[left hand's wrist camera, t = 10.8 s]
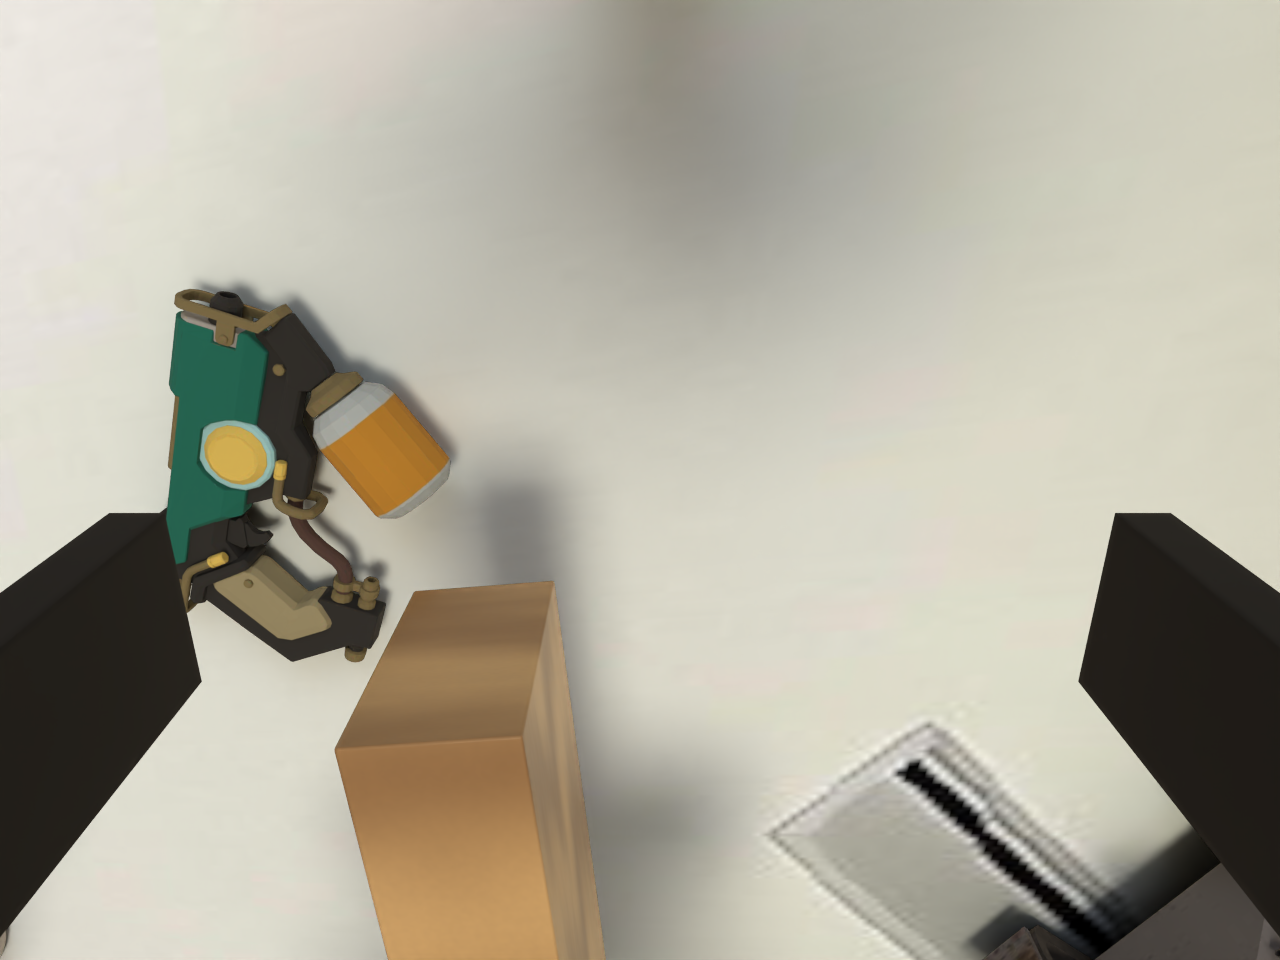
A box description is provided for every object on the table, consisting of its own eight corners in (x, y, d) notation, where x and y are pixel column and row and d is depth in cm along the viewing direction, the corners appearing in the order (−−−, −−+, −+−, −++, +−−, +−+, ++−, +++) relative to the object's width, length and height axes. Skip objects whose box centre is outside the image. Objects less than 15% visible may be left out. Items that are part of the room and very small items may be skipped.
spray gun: (357, 665, 48) (98, 520, 45) (512, 428, 42) (222, 245, 39) (327, 716, 44) (41, 561, 41) (493, 463, 38) (169, 262, 35)
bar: (414, 590, 33) (332, 749, 24) (554, 579, 33) (522, 736, 24) (505, 1047, 41) (470, 1282, 33) (617, 1041, 41) (610, 1276, 33)
